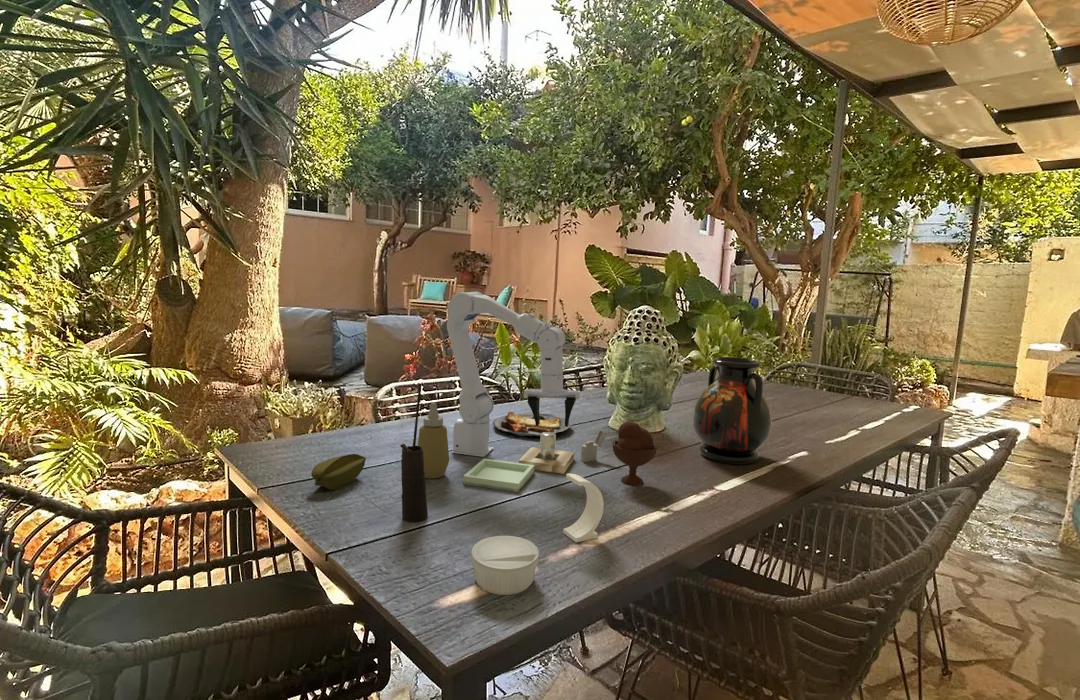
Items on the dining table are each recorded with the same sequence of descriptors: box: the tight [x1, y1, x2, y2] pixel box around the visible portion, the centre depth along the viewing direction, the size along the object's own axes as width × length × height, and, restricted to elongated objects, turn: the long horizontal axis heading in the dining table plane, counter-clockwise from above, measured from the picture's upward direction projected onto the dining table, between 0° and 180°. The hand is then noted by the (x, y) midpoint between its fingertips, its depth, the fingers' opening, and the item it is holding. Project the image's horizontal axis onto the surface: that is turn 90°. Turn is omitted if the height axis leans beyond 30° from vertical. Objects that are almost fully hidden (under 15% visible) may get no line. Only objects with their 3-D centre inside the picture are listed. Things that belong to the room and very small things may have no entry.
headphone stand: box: [562, 473, 605, 543], centre depth 113 cm, size 5×6×12 cm
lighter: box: [580, 429, 608, 463], centre depth 159 cm, size 7×2×8 cm, turn 120°
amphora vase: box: [691, 356, 773, 465], centre depth 166 cm, size 22×22×28 cm
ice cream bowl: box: [612, 421, 658, 487], centre depth 143 cm, size 11×11×15 cm
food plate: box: [492, 411, 573, 437], centre depth 187 cm, size 25×23×4 cm
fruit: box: [311, 453, 367, 491], centre depth 134 cm, size 11×12×7 cm
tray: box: [462, 458, 535, 493], centre depth 142 cm, size 14×14×2 cm
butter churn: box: [399, 383, 429, 523], centre depth 117 cm, size 9×10×28 cm
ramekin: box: [470, 535, 540, 596], centre depth 96 cm, size 11×11×5 cm
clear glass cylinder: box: [539, 432, 557, 461], centre depth 154 cm, size 4×4×8 cm
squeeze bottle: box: [417, 402, 450, 480], centre depth 141 cm, size 8×8×18 cm
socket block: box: [518, 446, 575, 475], centre depth 155 cm, size 12×12×2 cm
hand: (552, 425), depth 153 cm, fingers open, 7 cm apart
